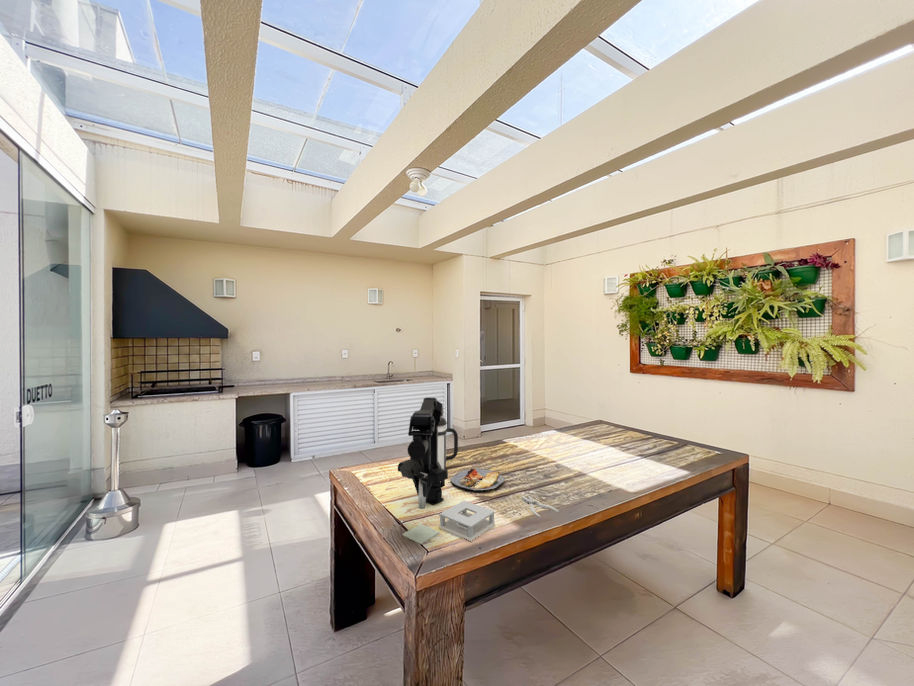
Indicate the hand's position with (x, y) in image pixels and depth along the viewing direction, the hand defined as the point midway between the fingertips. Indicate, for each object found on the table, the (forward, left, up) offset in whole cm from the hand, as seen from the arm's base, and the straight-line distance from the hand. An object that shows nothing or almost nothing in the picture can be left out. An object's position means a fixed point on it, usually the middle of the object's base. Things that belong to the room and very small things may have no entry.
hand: (422, 495), depth 125 cm
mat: (0, 0, -13) cm, 13 cm away
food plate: (-13, +50, -14) cm, 53 cm away
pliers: (+20, +44, -14) cm, 50 cm away
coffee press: (-38, +49, -13) cm, 63 cm away
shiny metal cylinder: (0, 0, -4) cm, 4 cm away
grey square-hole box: (+9, +14, -13) cm, 21 cm away
